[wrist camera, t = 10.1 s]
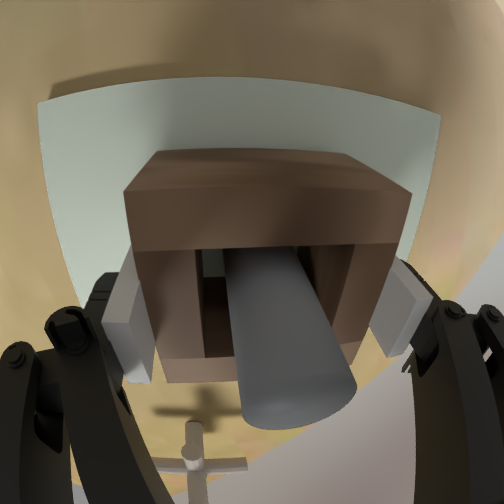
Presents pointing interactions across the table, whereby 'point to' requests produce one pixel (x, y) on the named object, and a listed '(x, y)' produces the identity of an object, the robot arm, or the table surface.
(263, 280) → the post stand
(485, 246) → the table surface
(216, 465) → the pipe connector
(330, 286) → the collar
